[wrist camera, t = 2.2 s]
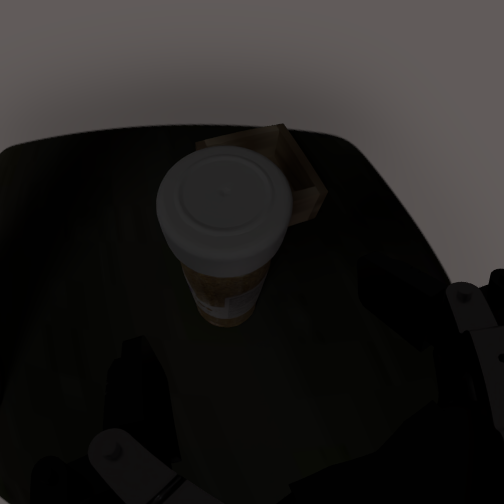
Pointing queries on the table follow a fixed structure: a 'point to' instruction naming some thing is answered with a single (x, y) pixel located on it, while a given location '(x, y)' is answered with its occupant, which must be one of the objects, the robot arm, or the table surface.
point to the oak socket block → (281, 165)
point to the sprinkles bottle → (224, 226)
